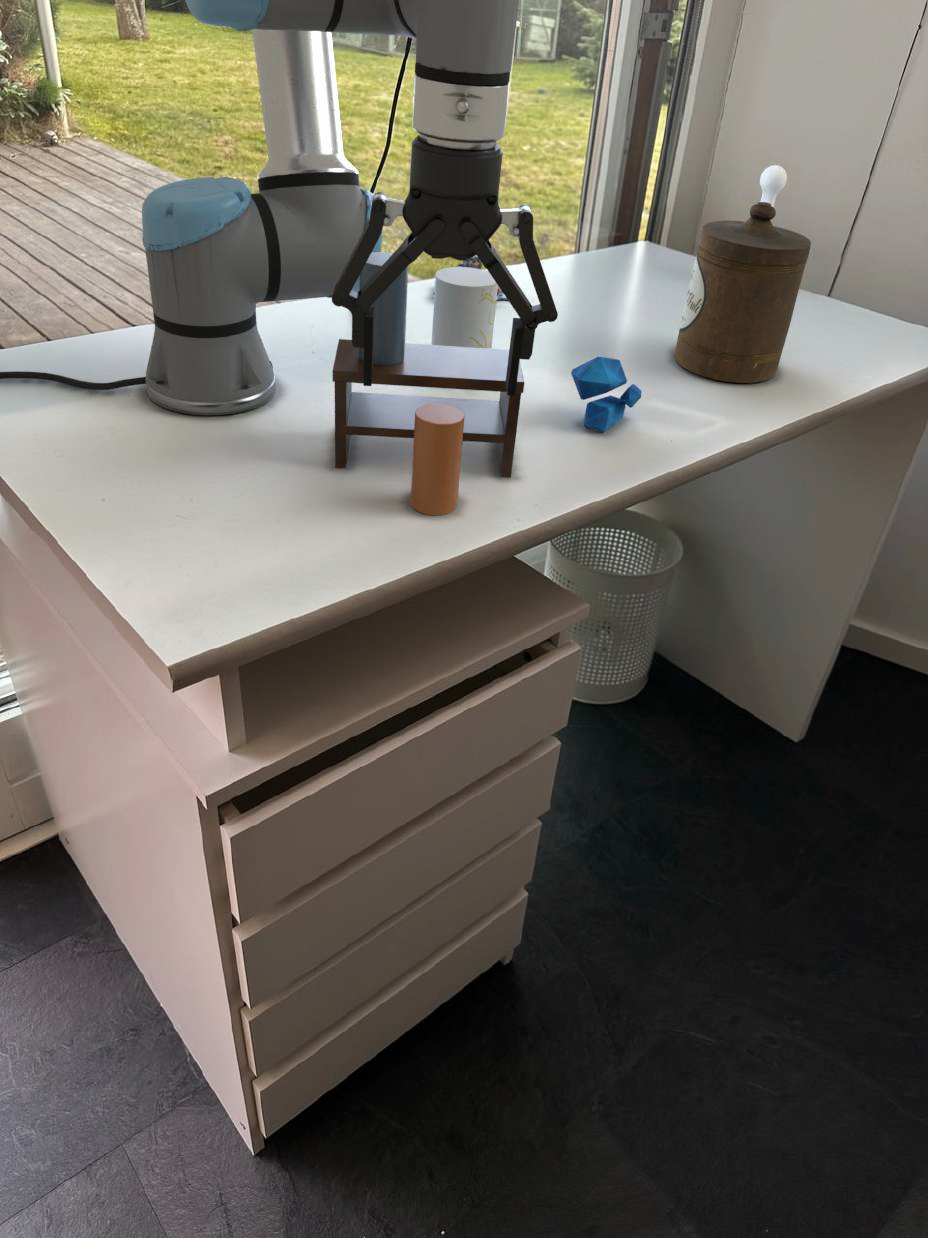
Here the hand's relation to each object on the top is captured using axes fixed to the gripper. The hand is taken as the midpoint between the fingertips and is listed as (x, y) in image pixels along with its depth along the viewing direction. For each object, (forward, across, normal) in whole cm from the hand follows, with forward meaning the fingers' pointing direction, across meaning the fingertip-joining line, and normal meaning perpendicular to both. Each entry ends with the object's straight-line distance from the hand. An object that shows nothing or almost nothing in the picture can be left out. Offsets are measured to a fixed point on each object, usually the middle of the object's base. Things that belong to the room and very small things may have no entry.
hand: (439, 385), depth 88 cm
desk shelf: (+13, -1, +10) cm, 17 cm away
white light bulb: (+14, +57, +84) cm, 103 cm away
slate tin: (+2, -6, +11) cm, 12 cm away
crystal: (+13, +21, +22) cm, 33 cm away
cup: (+13, +4, +38) cm, 40 cm away
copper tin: (+13, 0, -1) cm, 13 cm away
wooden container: (+13, +43, +44) cm, 63 cm away
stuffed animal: (+14, +7, +68) cm, 70 cm away
